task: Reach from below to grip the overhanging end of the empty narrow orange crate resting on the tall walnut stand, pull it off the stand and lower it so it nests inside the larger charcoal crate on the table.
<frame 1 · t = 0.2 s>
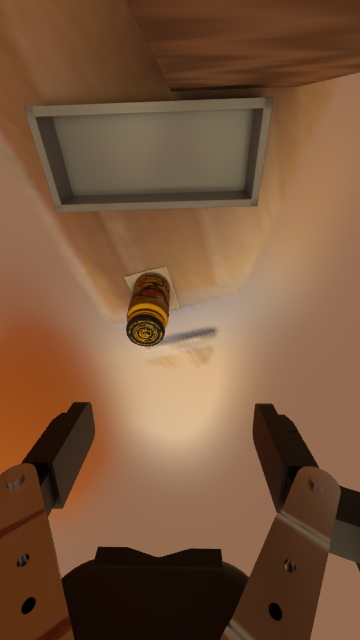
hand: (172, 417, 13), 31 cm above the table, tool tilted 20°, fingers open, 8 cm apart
condiment: (153, 291, 45), on the table
charcoal crate: (155, 155, 32), on the table
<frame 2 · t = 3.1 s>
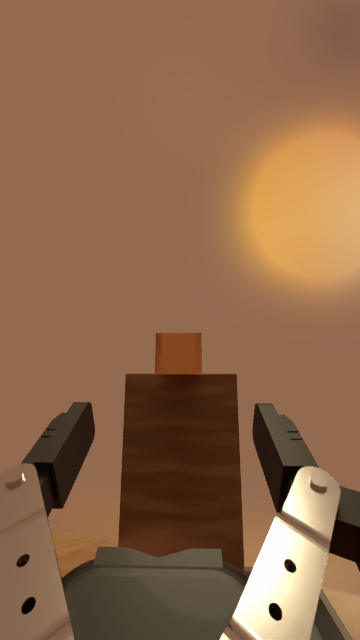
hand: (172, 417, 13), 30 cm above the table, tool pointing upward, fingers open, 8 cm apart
narrow crate: (180, 373, 34), point 32 cm above the table, touching walnut stand
walnut stand: (181, 628, 33), on the table
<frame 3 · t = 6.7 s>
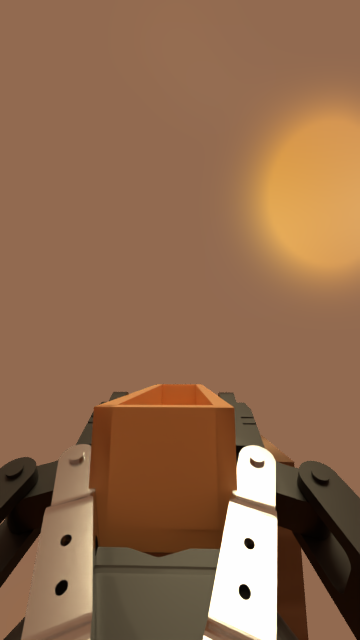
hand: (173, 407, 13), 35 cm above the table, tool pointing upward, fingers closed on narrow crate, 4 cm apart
narrow crate: (174, 455, 16), point 32 cm above the table, touching gripper, walnut stand
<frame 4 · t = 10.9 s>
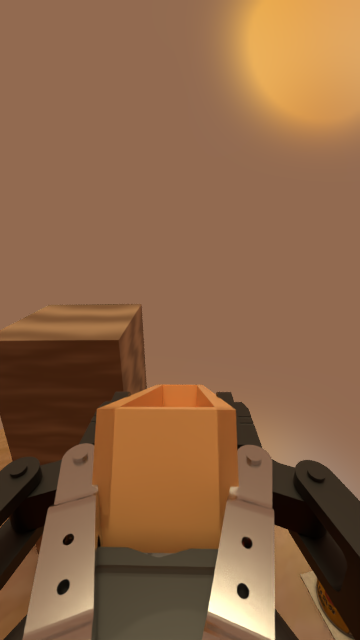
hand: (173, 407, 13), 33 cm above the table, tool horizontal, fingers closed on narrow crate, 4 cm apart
condiment: (350, 603, 31), on the table
narrow crate: (176, 456, 16), point 28 cm above the table, tilted 30°, touching gripper
walnut stand: (103, 504, 42), on the table
when the fingers open (10 cm above the table, at t = 14.6 s): narrow crate drops 4 cm, resting on charcoal crate.
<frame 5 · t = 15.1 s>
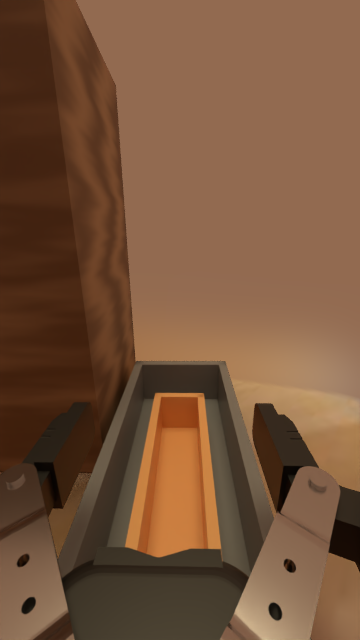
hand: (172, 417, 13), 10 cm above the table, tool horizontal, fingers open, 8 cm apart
narrow crate: (176, 528, 17), point 1 cm above the table, touching charcoal crate
charcoal crate: (177, 500, 19), on the table
walnut stand: (60, 415, 28), on the table
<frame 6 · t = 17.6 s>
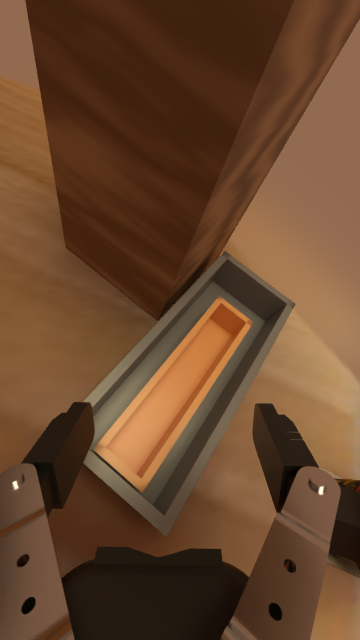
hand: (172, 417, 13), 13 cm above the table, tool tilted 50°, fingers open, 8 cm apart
condiment: (337, 518, 25), on the table
narrow crate: (177, 384, 26), point 1 cm above the table, touching charcoal crate
charcoal crate: (188, 368, 28), on the table
walnut stand: (149, 252, 33), on the table
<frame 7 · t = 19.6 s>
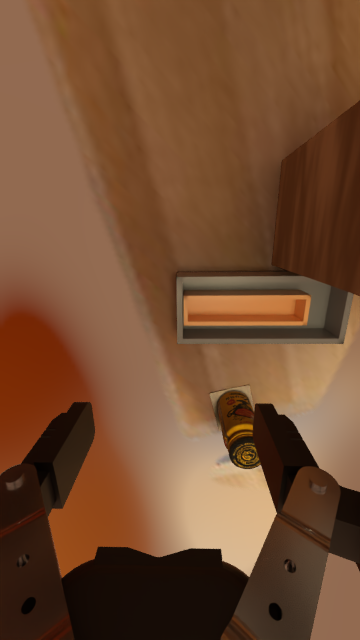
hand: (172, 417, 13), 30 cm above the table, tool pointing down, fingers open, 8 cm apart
condiment: (233, 406, 48), on the table
narrow crate: (240, 303, 41), point 1 cm above the table, touching charcoal crate
charcoal crate: (254, 302, 42), on the table
walnut stand: (325, 215, 37), on the table
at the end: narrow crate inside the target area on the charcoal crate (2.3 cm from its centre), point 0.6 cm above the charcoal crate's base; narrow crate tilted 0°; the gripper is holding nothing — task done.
